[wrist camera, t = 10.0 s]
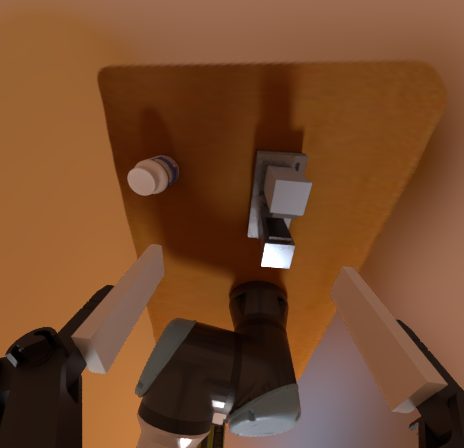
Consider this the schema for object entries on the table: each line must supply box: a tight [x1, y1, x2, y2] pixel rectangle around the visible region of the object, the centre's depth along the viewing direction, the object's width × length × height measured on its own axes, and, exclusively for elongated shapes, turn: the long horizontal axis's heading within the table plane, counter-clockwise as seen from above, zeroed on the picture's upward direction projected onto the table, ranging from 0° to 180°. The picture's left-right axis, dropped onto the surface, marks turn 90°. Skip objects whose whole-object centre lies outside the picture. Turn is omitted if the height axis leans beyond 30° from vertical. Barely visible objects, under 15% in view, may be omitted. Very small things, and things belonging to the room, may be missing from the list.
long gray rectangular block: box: [263, 165, 312, 219], centre depth 25 cm, size 5×4×10 cm
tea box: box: [197, 423, 225, 448], centre depth 80 cm, size 15×10×15 cm, turn 90°
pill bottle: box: [127, 155, 179, 196], centre depth 29 cm, size 5×5×9 cm
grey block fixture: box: [248, 149, 308, 269], centre depth 28 cm, size 16×8×12 cm, turn 177°
